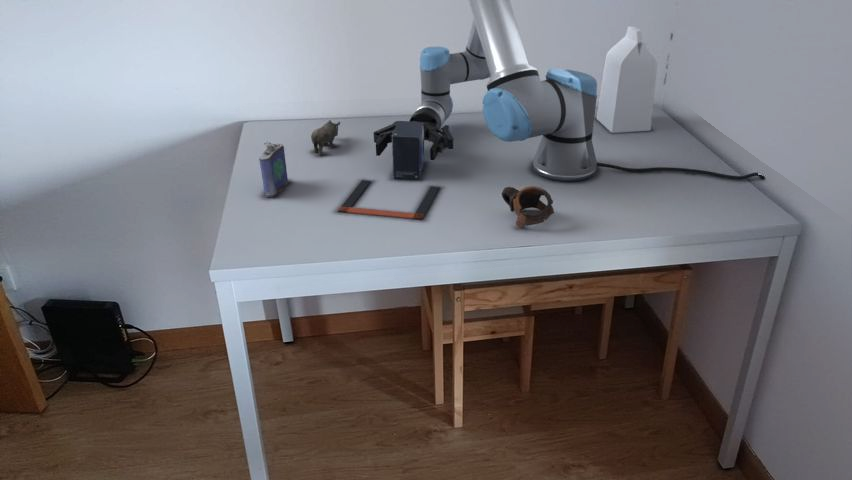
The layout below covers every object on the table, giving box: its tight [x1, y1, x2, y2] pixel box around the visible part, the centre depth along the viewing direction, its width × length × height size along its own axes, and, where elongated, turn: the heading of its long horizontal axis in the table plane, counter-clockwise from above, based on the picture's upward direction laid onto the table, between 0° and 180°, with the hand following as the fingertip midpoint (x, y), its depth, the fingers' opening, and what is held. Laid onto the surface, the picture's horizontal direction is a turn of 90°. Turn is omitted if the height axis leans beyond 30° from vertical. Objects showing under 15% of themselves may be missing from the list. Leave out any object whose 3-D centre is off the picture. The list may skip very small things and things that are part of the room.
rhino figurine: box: [310, 119, 341, 156], centre depth 174 cm, size 4×14×6 cm, turn 167°
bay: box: [337, 179, 440, 221], centre depth 150 cm, size 18×16×1 cm
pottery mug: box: [501, 185, 555, 229], centre depth 143 cm, size 12×10×8 cm
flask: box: [258, 141, 289, 198], centre depth 150 cm, size 9×3×11 cm, turn 172°
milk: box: [596, 25, 658, 134], centre depth 189 cm, size 12×12×26 cm
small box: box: [391, 120, 425, 180], centre depth 161 cm, size 11×6×10 cm, turn 179°
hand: (404, 152), depth 158 cm, fingers open, 12 cm apart
